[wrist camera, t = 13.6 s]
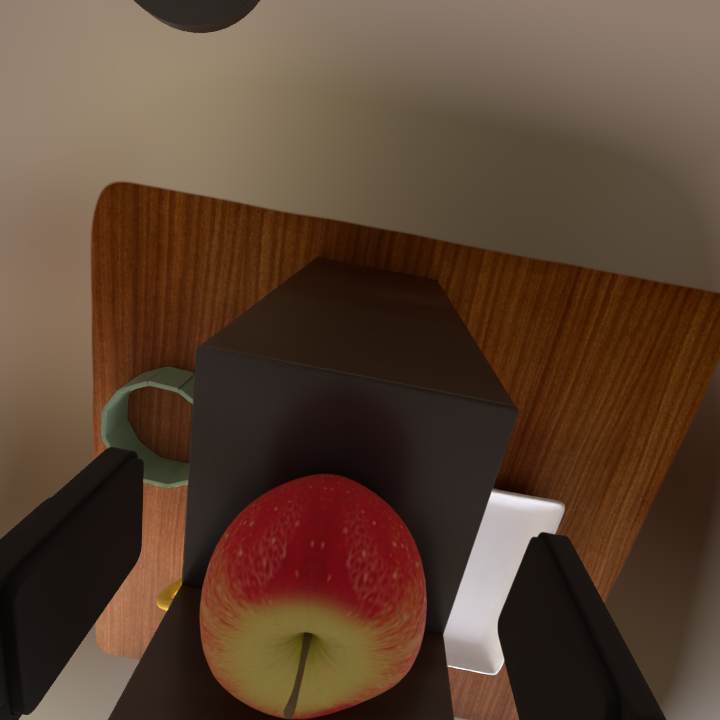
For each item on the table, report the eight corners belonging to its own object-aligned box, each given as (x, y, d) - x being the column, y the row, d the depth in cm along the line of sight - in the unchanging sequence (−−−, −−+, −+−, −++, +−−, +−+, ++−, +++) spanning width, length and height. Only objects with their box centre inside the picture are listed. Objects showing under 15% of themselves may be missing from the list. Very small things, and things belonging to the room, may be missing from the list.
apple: (431, 447, 20) (469, 669, 10) (404, 593, 23) (416, 870, 13) (247, 425, 20) (123, 622, 11) (244, 572, 23) (143, 830, 14)
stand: (316, 256, 51) (6, 490, 10) (437, 280, 51) (646, 614, 10) (300, 369, 56) (43, 854, 14) (410, 391, 56) (474, 935, 14)
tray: (386, 635, 70) (386, 657, 66) (432, 463, 59) (435, 479, 56) (493, 655, 70) (498, 678, 66) (559, 487, 59) (569, 504, 56)
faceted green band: (105, 383, 58) (80, 399, 53) (204, 355, 56) (187, 369, 51) (152, 474, 62) (133, 497, 58) (246, 451, 60) (234, 473, 55)
